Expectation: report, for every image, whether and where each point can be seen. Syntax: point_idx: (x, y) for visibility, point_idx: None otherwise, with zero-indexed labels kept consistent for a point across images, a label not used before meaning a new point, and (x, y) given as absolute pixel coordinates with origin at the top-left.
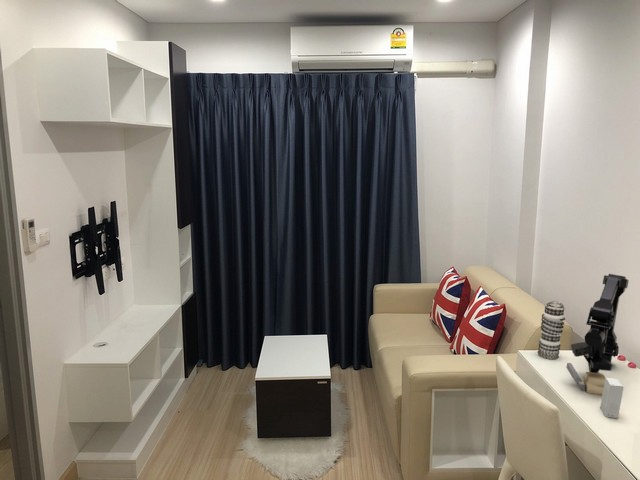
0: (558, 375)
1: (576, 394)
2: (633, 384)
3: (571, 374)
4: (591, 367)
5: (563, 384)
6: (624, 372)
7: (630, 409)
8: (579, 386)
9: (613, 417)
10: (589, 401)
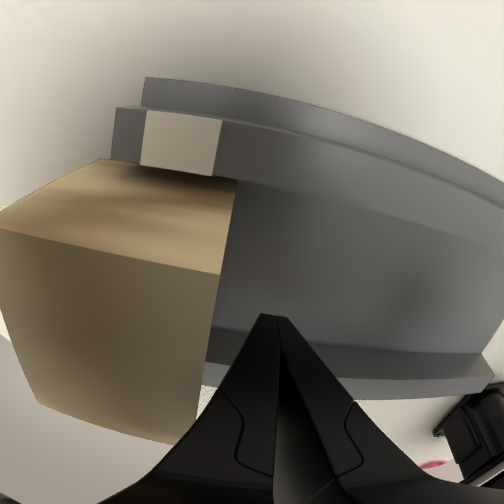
0: (490, 96)
1: (122, 61)
2: None
3: (472, 192)
4: (175, 446)
5: (333, 22)
6: None
7: None
8: (184, 112)
9: None
10: (27, 137)
